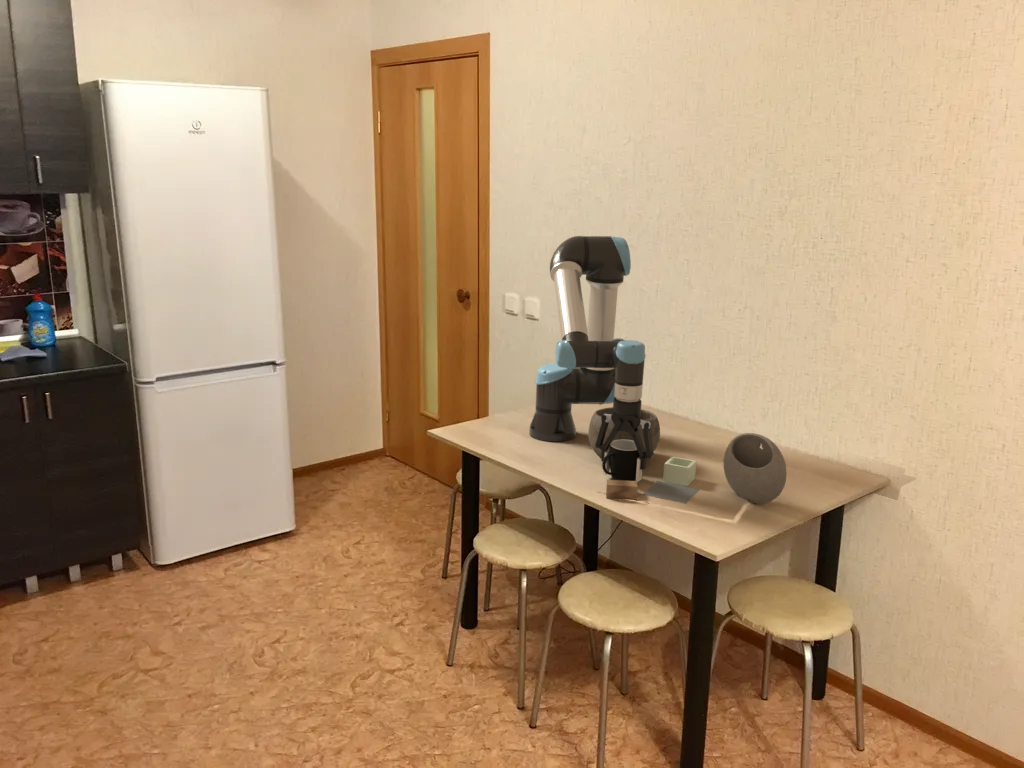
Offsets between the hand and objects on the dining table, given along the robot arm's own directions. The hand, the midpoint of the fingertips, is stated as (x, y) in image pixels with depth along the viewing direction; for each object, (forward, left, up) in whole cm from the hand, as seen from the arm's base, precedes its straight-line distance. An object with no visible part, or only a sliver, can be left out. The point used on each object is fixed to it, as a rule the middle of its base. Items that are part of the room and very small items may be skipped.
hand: (622, 476), depth 235 cm
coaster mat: (+14, 0, -2) cm, 14 cm away
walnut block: (+3, -9, -2) cm, 10 cm away
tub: (+13, +10, -2) cm, 17 cm away
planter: (+34, +6, -2) cm, 35 cm away
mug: (-1, 0, -2) cm, 2 cm away
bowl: (-7, +18, -2) cm, 19 cm away
